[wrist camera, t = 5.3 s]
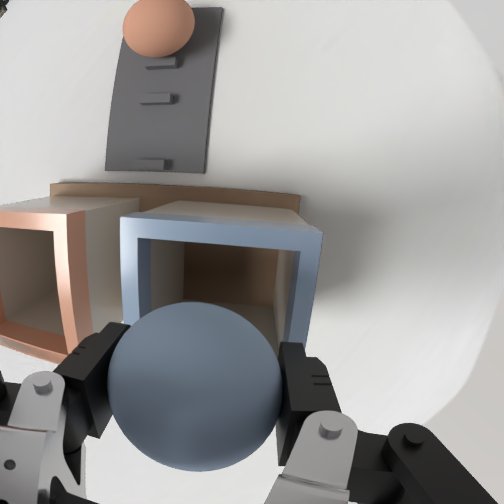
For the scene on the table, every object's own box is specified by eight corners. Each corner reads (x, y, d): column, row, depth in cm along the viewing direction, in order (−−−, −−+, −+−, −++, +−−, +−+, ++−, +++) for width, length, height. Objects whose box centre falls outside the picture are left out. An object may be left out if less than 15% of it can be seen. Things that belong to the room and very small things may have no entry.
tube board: (57, 183, 23) (50, 183, 22) (297, 194, 23) (300, 195, 22) (62, 293, 25) (55, 298, 24) (283, 319, 25) (284, 326, 24)
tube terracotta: (53, 194, 22) (-34, 210, 12) (140, 197, 22) (66, 214, 12) (58, 289, 24) (-15, 339, 14) (140, 302, 24) (83, 371, 14)
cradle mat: (129, 15, 19) (124, 9, 18) (222, 9, 19) (221, 2, 18) (106, 170, 22) (99, 170, 21) (203, 173, 23) (201, 173, 21)
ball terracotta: (142, 15, 19) (120, -14, 14) (204, 11, 19) (192, -23, 14) (132, 68, 20) (104, 46, 15) (195, 65, 20) (180, 39, 15)
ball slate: (136, 271, 11) (56, 341, 5) (286, 285, 11) (310, 376, 6) (144, 388, 12) (101, 481, 7) (269, 403, 12) (274, 508, 7)
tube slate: (177, 198, 22) (120, 217, 12) (293, 208, 22) (323, 233, 12) (174, 306, 24) (130, 382, 14) (280, 315, 24) (294, 399, 14)
